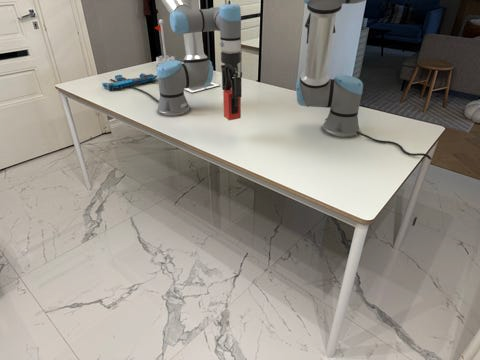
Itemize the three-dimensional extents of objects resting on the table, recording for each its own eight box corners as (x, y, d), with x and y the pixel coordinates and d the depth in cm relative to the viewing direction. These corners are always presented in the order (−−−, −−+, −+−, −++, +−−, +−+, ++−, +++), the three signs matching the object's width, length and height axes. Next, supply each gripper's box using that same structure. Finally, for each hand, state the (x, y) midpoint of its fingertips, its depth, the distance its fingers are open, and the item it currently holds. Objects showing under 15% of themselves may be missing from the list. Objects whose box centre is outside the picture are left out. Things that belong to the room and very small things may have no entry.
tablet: (163, 80, 212) (163, 79, 212) (190, 74, 223) (190, 73, 223) (192, 93, 192) (192, 92, 192) (220, 85, 203) (220, 85, 203)
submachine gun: (146, 68, 225) (164, 74, 209) (147, 73, 227) (165, 80, 210) (94, 78, 207) (110, 85, 190) (96, 84, 209) (112, 92, 192)
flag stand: (173, 62, 249) (168, 17, 233) (177, 66, 239) (172, 20, 223) (155, 64, 245) (149, 18, 229) (158, 68, 235) (152, 21, 219)
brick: (235, 114, 143) (235, 88, 137) (240, 118, 139) (240, 92, 133) (224, 116, 141) (223, 90, 135) (229, 120, 137) (228, 94, 131)
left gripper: (212, 47, 131) (214, 105, 144) (232, 57, 118) (233, 120, 130) (229, 45, 134) (230, 102, 147) (251, 55, 121) (250, 116, 133)
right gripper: (300, -5, 163) (296, 41, 175) (334, -1, 145) (327, 51, 156) (313, -6, 166) (308, 40, 178) (348, -1, 147) (340, 50, 159)
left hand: (231, 110), depth 138 cm, fingers closed on brick, 5 cm apart
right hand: (317, 45), depth 167 cm, fingers open, 13 cm apart
